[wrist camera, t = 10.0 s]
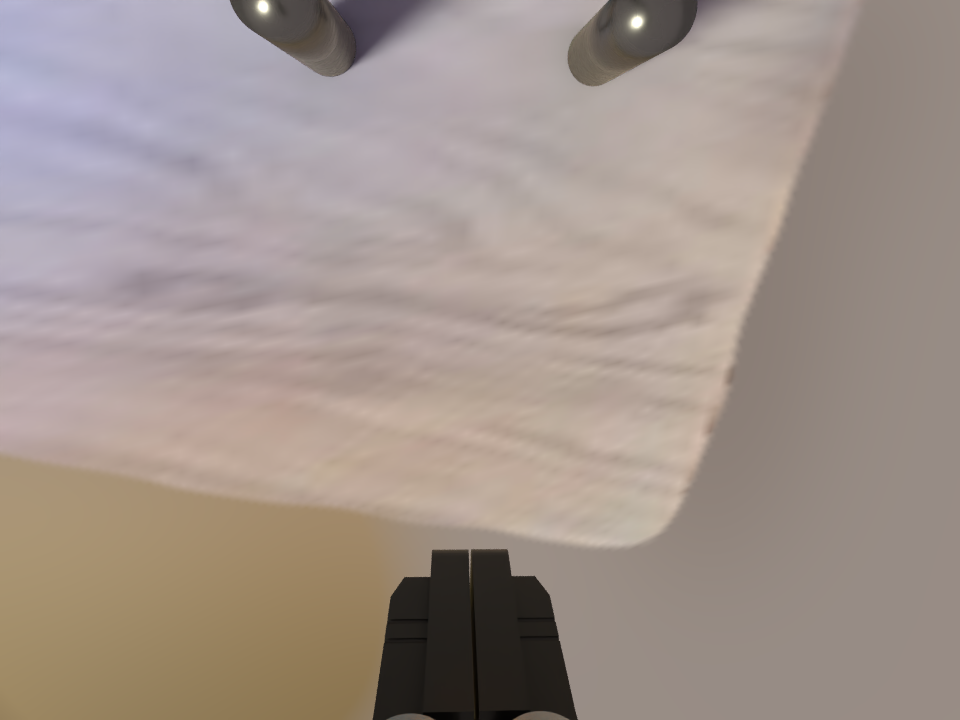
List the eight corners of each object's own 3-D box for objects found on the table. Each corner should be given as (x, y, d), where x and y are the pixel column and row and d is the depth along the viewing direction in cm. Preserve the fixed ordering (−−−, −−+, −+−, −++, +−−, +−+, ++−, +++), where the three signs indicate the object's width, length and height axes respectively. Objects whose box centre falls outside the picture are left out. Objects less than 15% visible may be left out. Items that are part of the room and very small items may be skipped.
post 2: (570, 24, 27) (623, -40, 18) (624, 26, 27) (702, -37, 19) (565, 85, 28) (615, 50, 19) (618, 87, 28) (691, 53, 19)
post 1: (297, 13, 26) (222, -60, 18) (354, 15, 26) (307, -56, 18) (301, 75, 27) (232, 35, 19) (357, 77, 27) (313, 38, 19)
